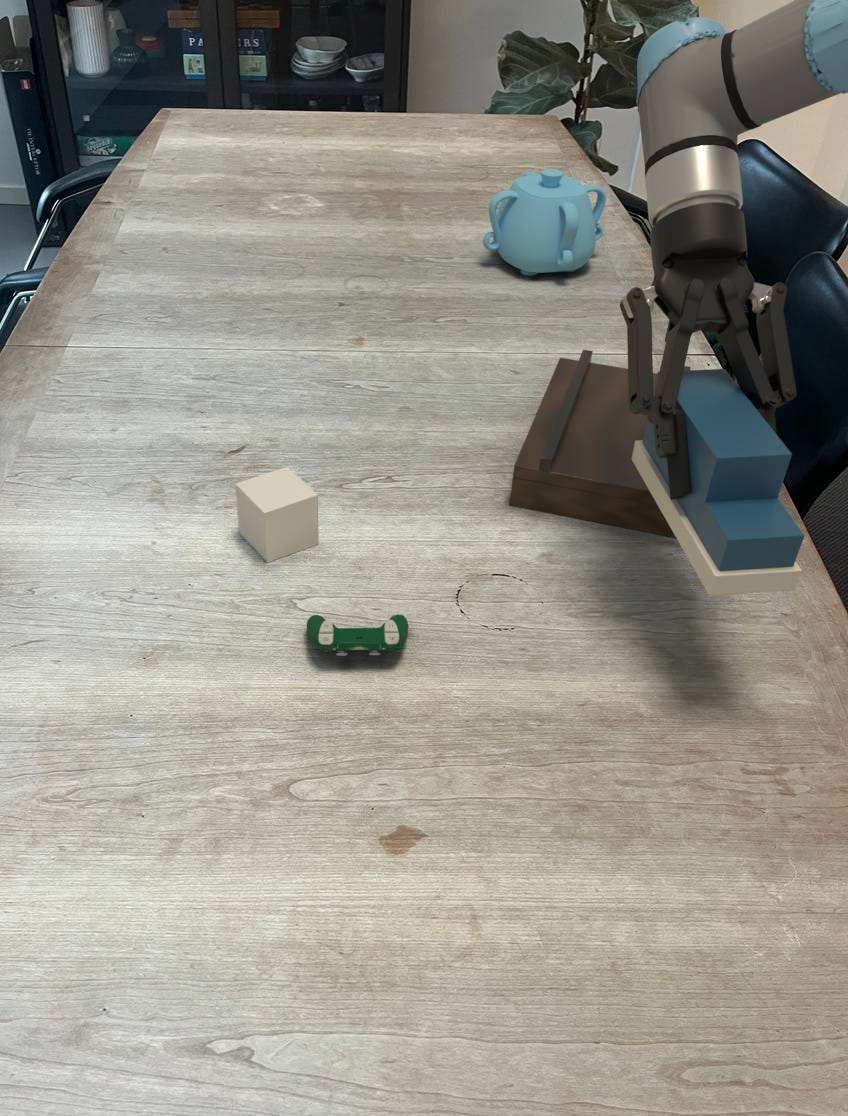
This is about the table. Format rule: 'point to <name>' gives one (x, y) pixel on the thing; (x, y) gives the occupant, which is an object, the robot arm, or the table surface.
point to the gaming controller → (357, 636)
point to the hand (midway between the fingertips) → (720, 493)
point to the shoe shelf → (587, 451)
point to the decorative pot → (545, 223)
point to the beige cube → (277, 514)
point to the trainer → (727, 490)
